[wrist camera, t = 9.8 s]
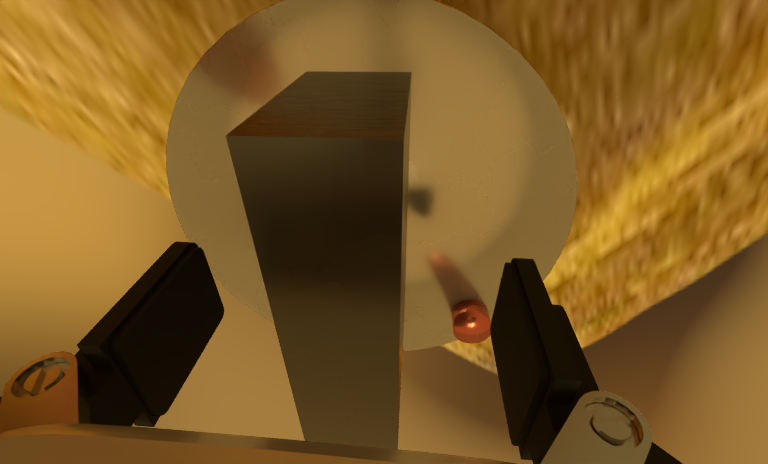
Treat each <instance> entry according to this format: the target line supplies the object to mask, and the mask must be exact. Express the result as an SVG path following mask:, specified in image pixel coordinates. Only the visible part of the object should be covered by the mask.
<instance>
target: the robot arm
mask: <svg viewBox="0 0 768 464" xmlns="http://www.w3.org/2000/svg"><path fill="white" fill-rule="evenodd" d="M223 315H224V307H223V304H222V301H221V298H220V296H219V293H218V290H217V287H216V284H215V281H214V279H213V276H212V273H211V270H210V267H209V264H208V262H207V259H206V256H205V253H204V251H203V249H202V248H200V247H199V246H198V245H197V244H196V243H193V242H175V243H173V244H172V245H171V246H170V247H169V248H168V249H167V250H166V251H165V252H164V253H163V254H162V255H161V257H160V258H159V259H158V260H157V261H156V262H155V263H154V264H153V265H152V266H151V267H150V268H149V269H148V270H147V271H146V272H145V273H144V275H143V276H142V277H141V278H140V279H139V280H138V281H137V282H136V283H135V284H134V285H133V286H132V287H131V288H130V289H129V290H128V292H127V293H126V294H125V295H124V296H123V297H122V298H121V299H120V300H119V301H118V302H117V303H116V304H115V305H114V306H113V307H112V308H111V310H110V311H109V312H108V313H107V314H106V315H105V316H104V317H103V318H102V319H101V320H100V321H99V322H98V323H97V324H96V326H94V327H93V329H92V330H91V331H90V332H89V333H88V334H87V335H86V336H85V337H84V338H83V339H82V340H81V341H80V343H78V344H77V346H78V348H79V349H80V350H79V351H78V352H77V353H76V355H75V356H74V355H73V354H72V353H69V352H54V353H51V354H47V355H44V356H41V357H39V358H37V359H35V360H33V361H31V362H29V363H28V364H26V365H25V366H23V367H22V368H20V370H18V371H17V372H16V373H15V374H14V375H12V377H11V378H10V379H9V380H8V382H7V383H6V384H5V387H4V389H3V392H2V396H1V397H0V464H515V463H508V462H502V461H496V460H490V459H483V458H474V457H465V456H456V455H447V454H438V453H429V452H419V451H408V450H398V449H387V448H376V447H365V446H355V445H344V444H333V443H322V442H311V441H298V440H288V439H277V438H265V437H253V436H242V435H231V434H230V435H229V434H218V433H206V432H194V431H182V430H170V429H157V428H146V427H131V426H132V425H133V423H134V424H135V425H137V426H148V427H154V426H155V424H156V422H157V421H158V419H159V417H160V416H161V415H164V414H165V413H166V412H167V411H168V409H169V408H170V406H171V405H172V403H173V401H174V399H175V398H176V396H177V394H178V393H179V391H180V389H181V388H182V386H183V384H184V382H185V381H186V379H187V377H188V376H189V374H190V372H191V371H192V369H193V367H194V366H195V364H196V362H197V360H198V359H199V357H200V355H201V353H202V352H203V350H204V349H205V346H206V345H207V343H208V342H209V340H210V338H211V337H212V335H213V333H214V332H215V330H216V328H217V327H218V325H219V323H220V321H221V320H222V318H223ZM490 334H491V340H492V345H493V350H494V356H495V361H496V366H497V371H498V377H499V381H500V387H501V392H502V397H503V403H504V408H505V413H506V418H507V424H508V429H509V434H510V439H511V443H512V444H513V445H514V446H519V451H520V456H521V459H524V460H532V461H533V464H682V463H681V462H680V461H678V460H676V459H675V458H674V457H672V456H671V455H670V454H668V453H667V452H666V451H664V450H663V449H661V448H660V447H659V446H657V445H656V444H654V443H653V442H652V434H651V430H650V427H649V425H648V423H647V421H646V420H645V418H644V416H643V415H642V414H641V413H640V412H639V411H638V410H637V409H636V408H635V407H634V406H633V405H632V404H630V403H629V402H628V401H626V400H625V399H623V398H621V397H619V396H617V395H615V394H613V393H609V392H604V391H599V389H598V386H597V384H596V382H595V379H594V377H593V375H592V372H591V370H590V368H589V365H588V363H587V361H586V358H585V356H584V354H583V351H582V349H581V347H580V344H579V342H578V340H577V337H576V335H575V333H574V330H573V328H572V326H571V323H570V321H569V319H568V316H567V314H566V312H565V310H564V308H563V307H562V306H561V305H552V303H551V301H550V298H549V296H548V293H547V291H546V288H545V286H544V283H543V281H542V278H541V276H540V273H539V271H538V268H537V266H536V263H535V261H534V260H533V259H526V258H513V259H512V260H511V263H508V262H506V263H505V265H504V269H503V273H502V277H501V282H500V286H499V290H498V295H497V299H496V303H495V308H494V312H493V316H492V321H491V326H490Z"/></svg>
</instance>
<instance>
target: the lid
mask: <svg viewBox="0 0 768 464" xmlns="http://www.w3.org/2000/svg"><path fill="white" fill-rule="evenodd" d="M166 161H167V177H168V183H169V189H170V195H171V198H172V201H173V205H174V208H175V211H176V214H177V217H178V220H179V222H180V224H181V226H182V228H183V230H184V233H185V235H186V237H187V239H188V240H189V242H193V243H196V244H197V245H198V246H199V247H200V248H202V249H203V251H204V253H205V256H206V259H207V262H208V264H209V267H210V270H211V273H212V275H213V276H214V277H215V278H216V279H217V280H218V281H219V282H220V283H221V284H222V285H223V286H224V287H225V288H226V289H227V290H228V291H229V292H230V293H232V294H233V295H234V296H235V297H236V298H238V299H239V300H240V301H241V302H242V303H244V304H245V305H246V306H248V307H249V308H251V309H252V310H254V311H255V312H256V313H258V314H259V315H261V316H263V317H264V318H266V319H268V320H269V321H271V322H273V323H274V324H275V327H276V331H277V335H278V339H279V343H280V347H281V351H282V354H283V358H284V362H285V366H286V370H287V373H288V378H289V381H290V385H291V389H292V393H293V396H294V401H295V404H296V408H297V412H298V416H299V419H300V424H301V427H302V431H303V435H304V439H305V441H311V442H322V443H333V444H344V445H355V446H365V447H376V448H387V449H397V448H398V429H399V410H400V392H401V372H402V354H403V351H409V350H417V349H424V348H430V347H434V346H439V345H443V344H447V343H450V342H453V341H456V340H460V341H462V342H466V343H478V342H481V341H484V340H486V339H487V338H488V337H489V336H490V335H491V334H490V326H491V321H492V316H493V312H494V308H495V303H496V299H497V295H498V290H499V286H500V282H501V277H502V273H503V269H504V265H505V263H506V262H508V263H511V260H512V259H513V258H526V259H533V260H534V261H535V263H536V266H537V268H538V271H539V273H540V276H541V278H542V281H543V280H544V279H545V278H546V277H547V275H548V274H549V273H550V271H551V269H552V268H553V266H554V264H555V263H556V261H557V259H558V258H559V256H560V254H561V252H562V250H563V247H564V245H565V243H566V240H567V238H568V235H569V233H570V229H571V225H572V221H573V217H574V213H575V209H576V198H577V187H578V182H577V168H576V157H575V153H574V149H573V145H572V140H571V136H570V132H569V129H568V127H567V125H566V122H565V120H564V117H563V115H562V113H561V110H560V108H559V106H558V103H557V102H556V100H555V99H554V97H553V96H552V94H551V92H550V91H549V89H548V88H547V86H546V84H545V83H544V81H543V80H542V78H541V77H540V76H539V74H538V73H537V72H536V71H535V70H534V69H533V68H532V67H531V65H530V64H529V63H528V62H527V61H526V60H525V59H524V57H523V56H522V55H521V54H520V53H519V52H518V51H517V50H515V49H514V48H513V47H512V46H511V45H509V44H508V43H507V42H506V41H505V40H503V39H502V38H501V37H500V36H498V35H497V34H496V33H495V32H494V31H492V30H491V29H490V28H488V27H487V26H485V25H484V24H482V23H480V22H479V21H477V20H475V19H474V18H472V17H470V16H468V15H467V14H465V13H463V12H462V11H460V10H458V9H456V8H453V7H451V6H448V5H446V4H443V3H441V2H438V1H436V0H284V1H281V2H279V3H277V4H275V5H272V6H270V7H268V8H266V9H263V10H261V11H259V12H257V13H254V14H253V15H251V16H250V17H248V18H247V19H245V20H244V21H242V22H241V23H239V24H238V25H236V26H235V27H233V28H232V29H230V30H229V31H227V32H226V33H225V34H224V35H223V36H222V37H221V38H220V39H219V40H218V41H217V42H216V43H215V44H214V45H213V46H212V47H211V48H210V49H209V50H208V51H206V53H205V54H204V55H203V57H202V58H201V59H200V61H199V62H198V63H197V65H196V66H195V68H194V69H193V70H192V72H191V73H190V74H189V76H188V78H187V80H186V82H185V84H184V86H183V88H182V90H181V92H180V94H179V96H178V98H177V101H176V104H175V107H174V111H173V114H172V117H171V120H170V124H169V131H168V139H167V146H166Z"/></svg>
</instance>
